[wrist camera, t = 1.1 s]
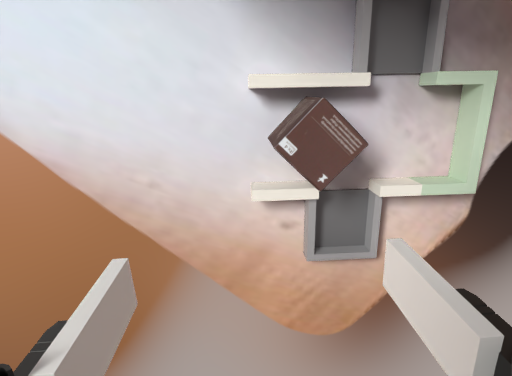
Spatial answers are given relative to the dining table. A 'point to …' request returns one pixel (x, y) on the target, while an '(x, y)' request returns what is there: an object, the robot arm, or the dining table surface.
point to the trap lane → (364, 64)
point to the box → (317, 141)
